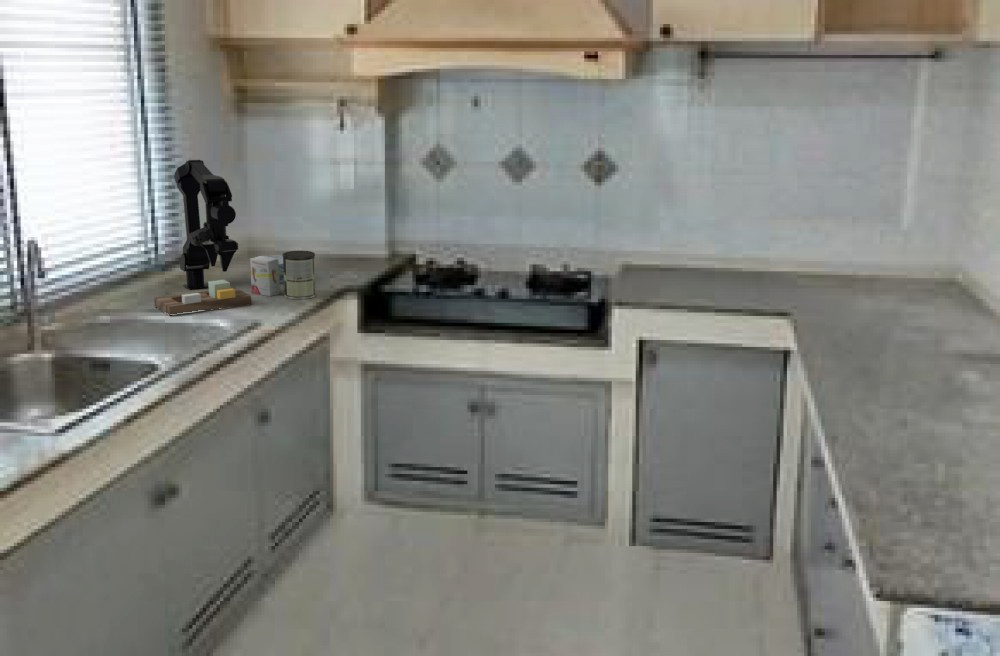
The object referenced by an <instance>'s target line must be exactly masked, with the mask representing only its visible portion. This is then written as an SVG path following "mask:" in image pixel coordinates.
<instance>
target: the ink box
mask: <svg viewBox="0 0 1000 656" xmlns="http://www.w3.org/2000/svg"><path fill="white" fill-rule="evenodd" d="M266 256H267V255H259V256H255V257H252V258H249V262H250V278H251V279H250V280H251V281H250V284H251V293H252V294H255V295H261V296H267V297H273V296H276V295H280V293H281V292H280V290H281V289H280V283H279V261H278V260H277V259H276V258H271V257H266Z"/></svg>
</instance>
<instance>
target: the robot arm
mask: <svg viewBox="0 0 1000 656" xmlns="http://www.w3.org/2000/svg"><path fill="white" fill-rule="evenodd" d="M174 182H175V183H176V188H177V190H178V192H180V193H181V195H182V198H183V199H182V200H183V209H184V210H183V211H184V219H185V220H184V221H185V223H184V224H185V232H186V241H185V242H184V245H183V246H182V253H181V256H180V259H179V263H178V264H179V270H181V271H183V272H185V277H186V284H182V287H184V288H186V289H188V290H190V291H191V290H200V289H207V288H208V289H209V285H208V284H205V273H204V271H205V270H210V266H211V267H215V266H216V265H217V260H218V256H219V260H220V261H219V262H220V265H221V270H222V272H227V271H228V269H229V267H230V264H231V262H232V260H233V257H234V255H235V253H236V252H237V251H238V250H239V242H237V241H236V240H234V239H233V238H232V239H231V238H230V236H229V235H228V234H227V227H229V224H231V223H233V222H234V221H235V219H236V217H237V216H236V215H237V212H236V210H235V208H234V207H233V206H231V205H230V202H232V201H233V200H232V198H233V194H232V191H231V189H230V186H229V183H228V182H227V181H226V180H225V178H224V177H222V176H220V175H214V174H213V173H212V171H210V169H209V168H208V167H207V166H206V165H205V162H204V160H201V159H188V160H186V162H184V164H182V165H180V166H178V167H177V168H176V170H175V171H174ZM199 194H201V196H202V198H203V200H204V203H205V217H206V219H205V220H206V221H205V222H204V223H203V227H201V218H200V217H201V216H200V207H199V205H200V204H199Z"/></svg>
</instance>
